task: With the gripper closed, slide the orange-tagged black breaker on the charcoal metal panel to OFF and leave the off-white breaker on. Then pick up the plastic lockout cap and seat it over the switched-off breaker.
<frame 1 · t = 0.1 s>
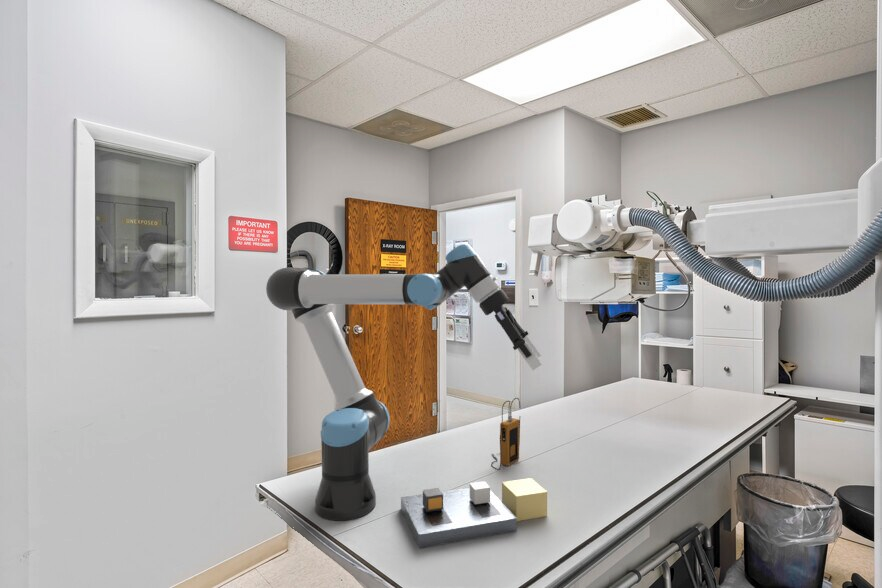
hand: (537, 362, 122), 36 cm above the table, tool tilted 35°, fingers open, 13 cm apart
lockout cap: (524, 510, 117), on the table
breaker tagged: (433, 499, 112), point 5 cm above the table, slide at 0.0 cm
multimeter: (499, 460, 150), on the table
breaker panel: (456, 519, 113), on the table
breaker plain: (479, 492, 115), point 5 cm above the table, slide at 0.0 cm
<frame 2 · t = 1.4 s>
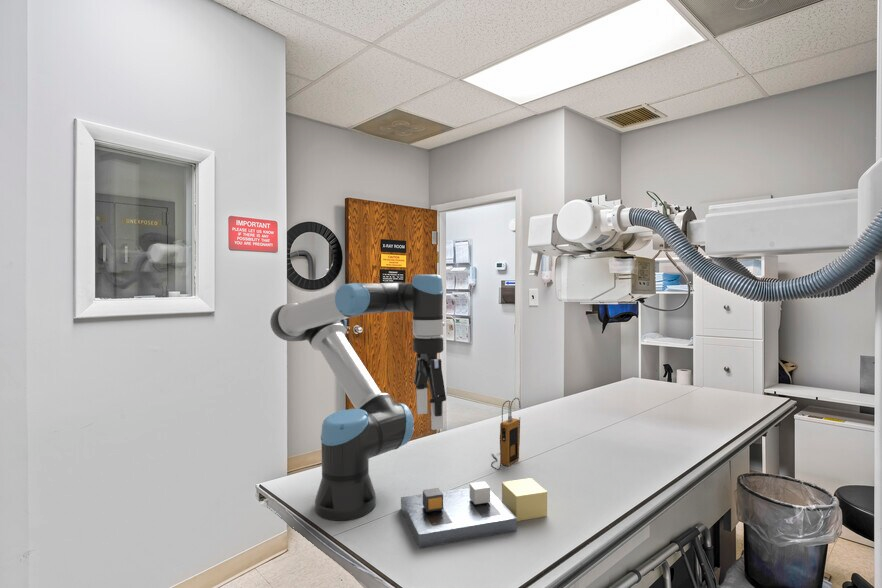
hand: (429, 421, 118), 22 cm above the table, tool pointing down, fingers open, 13 cm apart
nothing on the table moved.
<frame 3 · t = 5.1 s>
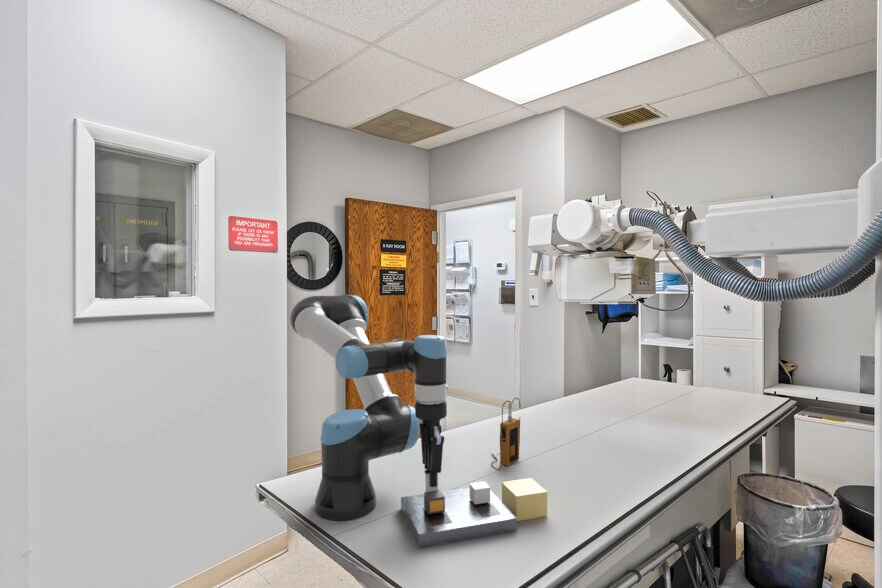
hand: (431, 497, 113), 5 cm above the table, tool pointing down, fingers closed
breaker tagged: (434, 502, 110), point 5 cm above the table, slide at 1.3 cm, touching gripper
everything else where it was.
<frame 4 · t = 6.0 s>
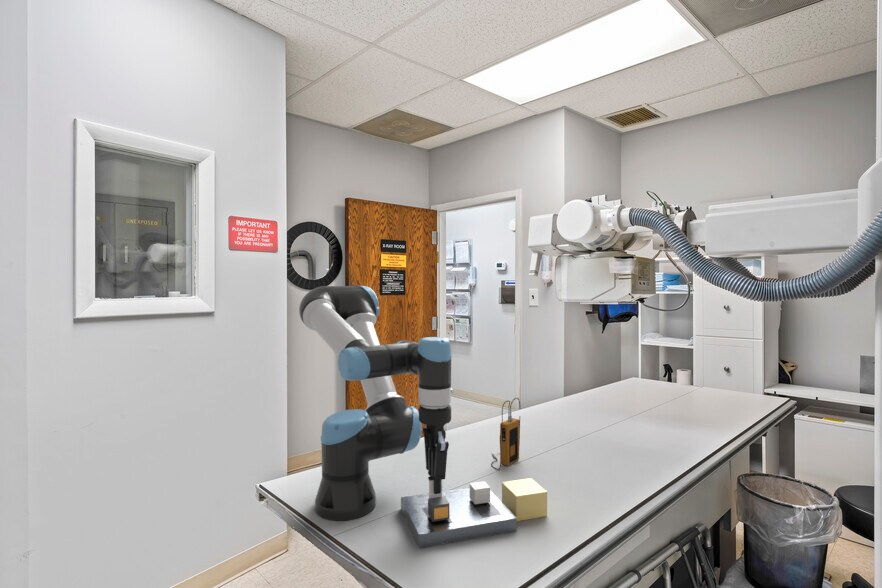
hand: (435, 504, 110), 5 cm above the table, tool pointing down, fingers closed
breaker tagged: (438, 509, 107), point 5 cm above the table, slide at 4.7 cm, touching gripper
everything else where it was.
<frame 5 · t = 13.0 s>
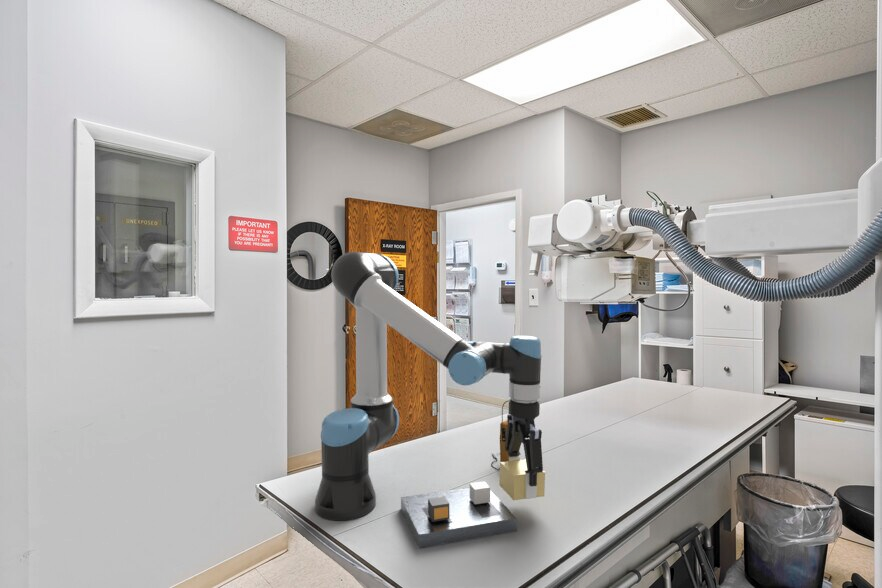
hand: (521, 489, 117), 5 cm above the table, tool pointing down, fingers closed on lockout cap, 8 cm apart
lockout cap: (521, 490, 117), point 5 cm above the table, touching gripper
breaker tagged: (438, 509, 107), point 5 cm above the table, slide at 4.7 cm
everything else where it was.
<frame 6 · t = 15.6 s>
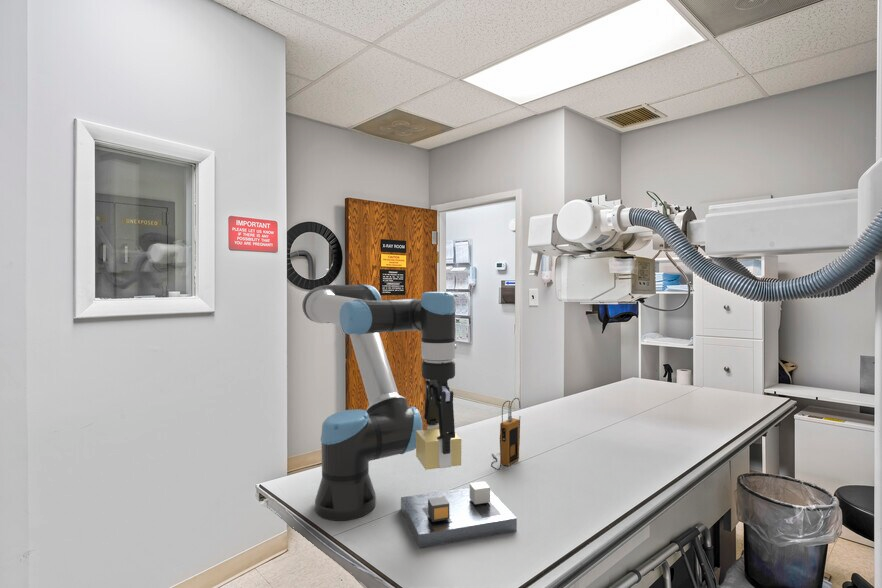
hand: (438, 459, 107), 17 cm above the table, tool pointing down, fingers closed on lockout cap, 8 cm apart
lockout cap: (438, 460, 107), point 16 cm above the table, touching gripper
everything else where it was.
when the fingers open (4 cm above the table, at t = 18.4 s): lockout cap stays where it is, resting on breaker panel.
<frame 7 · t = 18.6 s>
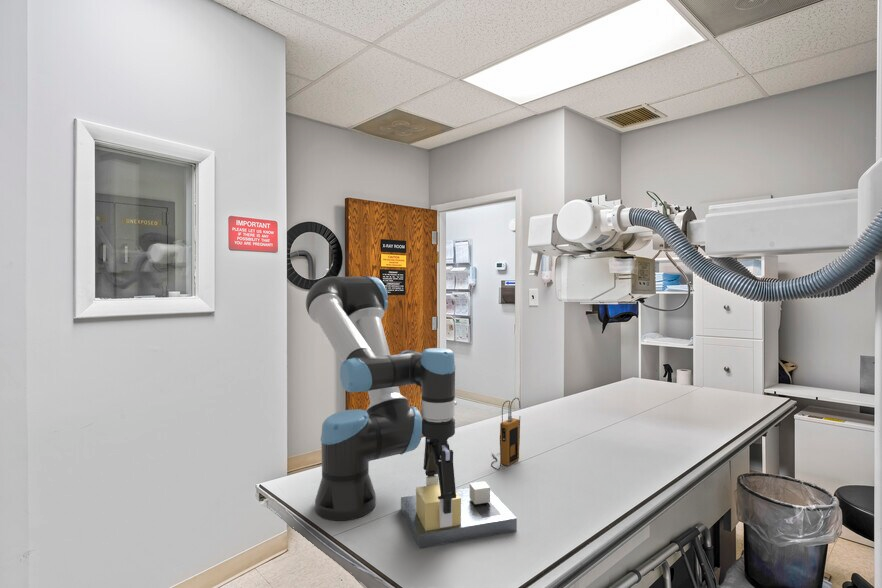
hand: (438, 514, 107), 4 cm above the table, tool pointing down, fingers open, 10 cm apart
lockout cap: (438, 518, 107), point 3 cm above the table, touching breaker panel
everything else where it was.
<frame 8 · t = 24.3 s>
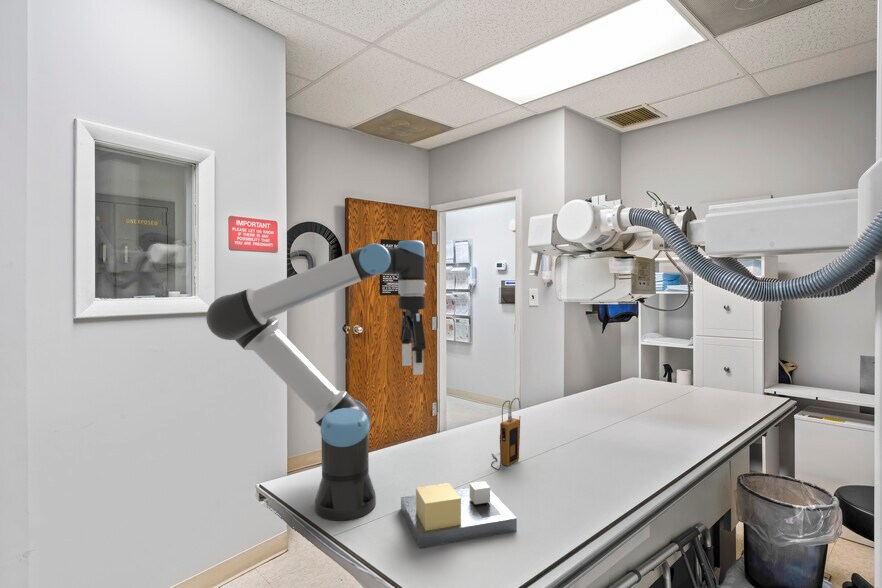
hand: (412, 369, 134), 32 cm above the table, tool pointing down, fingers open, 13 cm apart
nothing on the table moved.
at the end: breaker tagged slide at 4.7 cm; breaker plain slide at 0.0 cm; lockout cap 0.2 cm from the target spot, point 3.0 cm above the table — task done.
